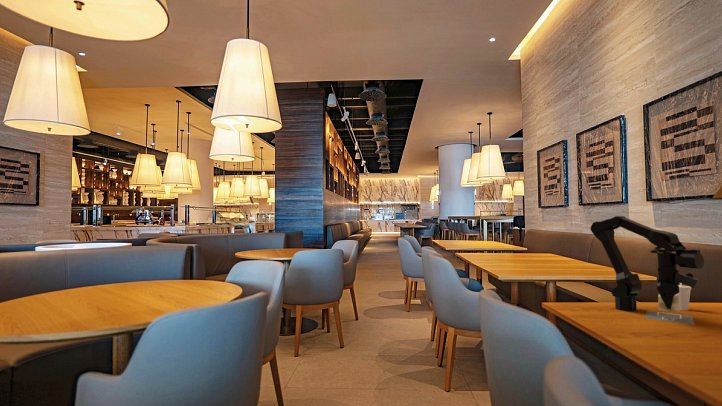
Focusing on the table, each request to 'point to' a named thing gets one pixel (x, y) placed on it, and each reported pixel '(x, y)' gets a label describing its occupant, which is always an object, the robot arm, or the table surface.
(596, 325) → the table surface
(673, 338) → the table surface
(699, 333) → the table surface
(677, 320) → the board
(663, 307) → the maple block
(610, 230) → the robot arm
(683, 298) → the smoothie
